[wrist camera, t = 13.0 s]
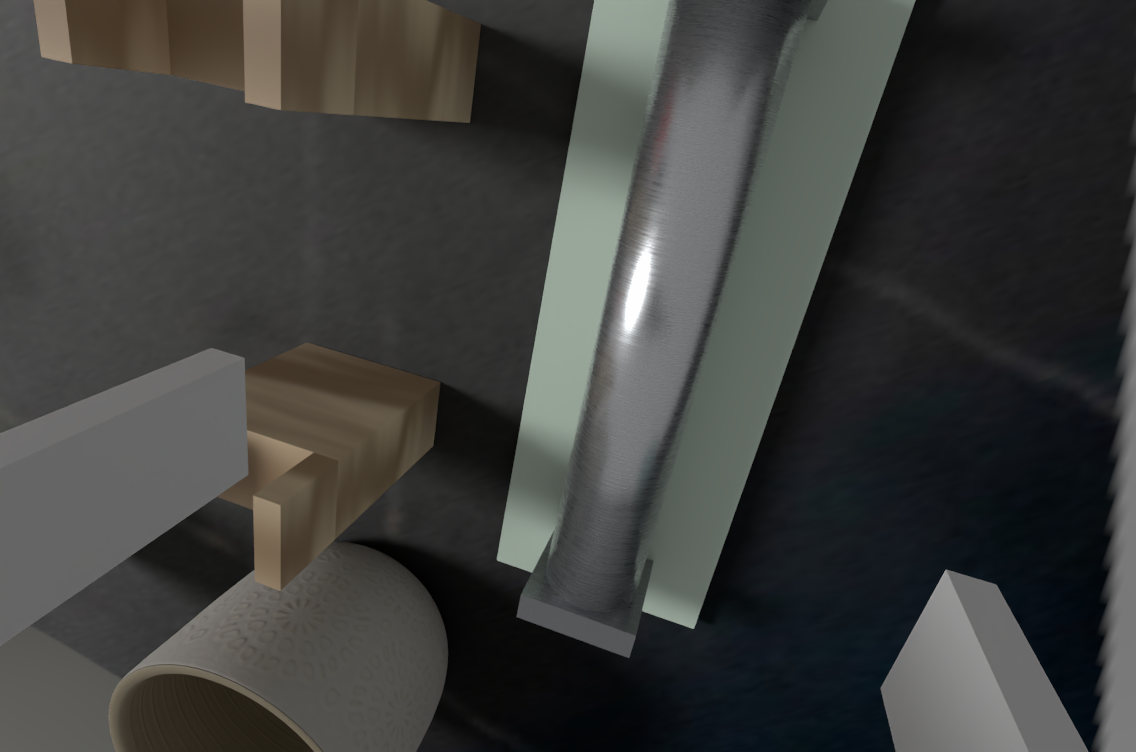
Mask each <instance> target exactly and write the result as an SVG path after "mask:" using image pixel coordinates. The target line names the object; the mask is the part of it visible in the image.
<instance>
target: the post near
mask: <svg viewBox="0 0 1136 752" xmlns="http://www.w3.org/2000/svg"><path fill="white" fill-rule="evenodd" d="M34 6H35V13H36V21H37V28H38V35H39V43H40V50H41V57H45V58H49V59H54V60H58V61H63V62H67V63H72V64H80V65H88V66H97V67H106V68H114V69H123V70H132V71H140V72H149V73H158V74H166V75H173V76H178V77H182V78H187V79H191V80H196V81H200V82H205V83H210V84H214V85H219V86H223V87H228V88H232V89H237V90H241V91H245V102H246V103H251V104H255V105H260V106H264V107H269V108H273V109H278V110H285V111H300V112H315V113H329V114H344V115H359V116H374V117H389V118H404V119H419V120H433V121H448V122H463V123H470V118H471V109H472V100H473V92H474V83H475V74H476V65H477V56H478V47H479V38H480V30H481V24H480V23H477V22H475V21H473V20H470V19H468V18H466V17H463V16H461V15H459V14H456V13H454V12H452V11H450V10H447V9H445V8H443V7H440V6H438V5H436V4H433V3H431V2H429V1H426V0H34Z"/></svg>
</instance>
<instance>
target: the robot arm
mask: <svg viewBox="0 0 1136 752" xmlns="http://www.w3.org/2000/svg"><path fill="white" fill-rule="evenodd" d="M247 475H248V446H247V417H246V388H245V359H244V358H243V357H240V356H236V355H233V354H230V353H226V352H223V351H220V350H216V349H213V348H210V349H207V350H205V351H203V352H200V353H198V354H195V355H193V356H190V357H188V358H185V359H183V360H180V361H178V362H175V363H173V364H170V365H168V366H166V367H163V368H161V369H158V370H156V371H153V372H151V373H148V374H146V375H143V376H141V377H138V378H136V379H133V380H131V381H128V382H126V383H124V384H121V385H119V386H116V387H114V388H111V389H109V390H106V391H104V392H101V393H99V394H96V395H94V396H91V397H89V398H87V399H84V400H82V401H79V402H77V403H74V404H72V405H69V406H67V407H64V408H62V409H59V410H57V411H54V412H52V413H49V414H47V415H45V416H42V417H40V418H37V419H35V420H32V421H30V422H27V423H25V424H22V425H20V426H17V427H15V428H12V429H10V430H8V431H5V432H3V433H0V646H1V645H2V644H4V643H5V642H7V641H8V640H10V639H11V638H12V637H14V636H15V635H17V634H18V633H20V632H21V631H22V630H24V629H25V628H27V627H28V626H30V625H31V624H33V623H34V622H36V621H37V620H39V619H40V618H41V617H43V616H44V615H46V614H47V613H49V612H50V611H52V610H53V609H55V608H56V607H57V606H59V605H60V604H62V603H63V602H65V601H66V600H68V599H69V598H70V597H72V596H73V595H75V594H76V593H78V592H79V591H81V590H82V589H84V588H85V587H86V586H88V585H89V584H91V583H92V582H94V581H95V580H97V579H98V578H99V577H101V576H102V575H104V574H105V573H107V572H108V571H110V570H111V569H113V568H114V567H115V566H117V565H118V564H120V563H121V562H123V561H124V560H126V559H127V558H128V557H130V556H131V555H133V554H134V553H136V552H137V551H139V550H140V549H142V548H143V547H144V546H146V545H147V544H149V543H150V542H152V541H153V540H155V539H156V538H157V537H159V536H160V535H162V534H163V533H165V532H166V531H168V530H169V529H170V528H172V527H173V526H175V525H176V524H178V523H179V522H181V521H182V520H184V519H185V518H186V517H188V516H189V515H191V514H192V513H194V512H195V511H197V510H198V509H199V508H201V507H202V506H204V505H205V504H207V503H208V502H210V501H211V500H213V499H214V498H215V497H217V496H218V495H220V494H221V493H223V492H224V491H226V490H227V489H228V488H230V487H231V486H233V485H234V484H236V483H237V482H239V481H240V480H242V479H243V478H244V477H246V476H247ZM881 692H882V696H883V700H884V704H885V708H886V713H887V717H888V721H889V725H890V729H891V733H892V738H893V742H894V746H895V750H896V752H1088V750H1087V748H1086V746H1085V745H1084V743H1083V741H1082V739H1081V737H1080V736H1079V734H1078V732H1077V730H1076V728H1075V726H1074V725H1073V723H1072V721H1071V719H1070V717H1069V716H1068V714H1067V712H1066V710H1065V708H1064V707H1063V705H1062V703H1061V701H1060V699H1059V697H1058V696H1057V694H1056V692H1055V690H1054V688H1053V687H1052V685H1051V683H1050V681H1049V679H1048V677H1047V676H1046V674H1045V672H1044V670H1043V668H1042V667H1041V665H1040V663H1039V661H1038V659H1037V658H1036V656H1035V654H1034V652H1033V650H1032V648H1031V647H1030V645H1029V643H1028V641H1027V639H1026V638H1025V636H1024V634H1023V632H1022V630H1021V628H1020V627H1019V625H1018V623H1017V621H1016V619H1015V618H1014V616H1013V614H1012V612H1011V610H1010V609H1009V607H1008V605H1007V603H1006V601H1005V599H1004V598H1003V596H1002V594H1001V592H1000V590H999V589H998V587H997V585H995V584H992V583H989V582H985V581H982V580H979V579H975V578H972V577H969V576H966V575H962V574H959V573H956V572H952V571H949V570H945V572H944V574H943V576H942V578H941V579H940V581H939V583H938V585H937V587H936V588H935V590H934V592H933V594H932V596H931V598H930V599H929V601H928V603H927V605H926V607H925V608H924V610H923V612H922V614H921V616H920V618H919V619H918V621H917V623H916V625H915V627H914V628H913V630H912V632H911V634H910V636H909V638H908V639H907V641H906V643H905V645H904V647H903V648H902V650H901V652H900V654H899V656H898V658H897V659H896V661H895V663H894V665H893V667H892V668H891V670H890V672H889V674H888V676H887V678H886V679H885V681H884V683H883V685H882V687H881Z"/></svg>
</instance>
